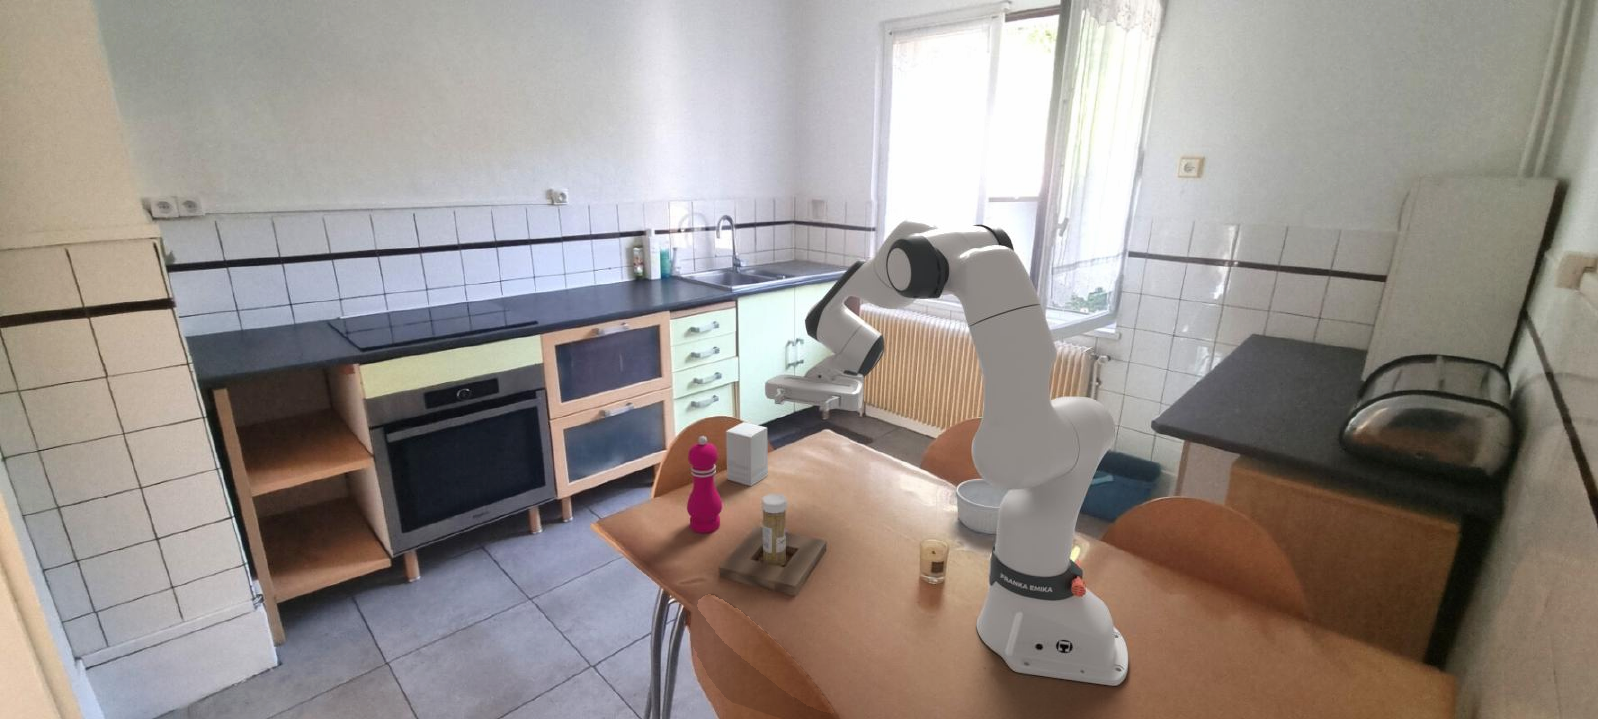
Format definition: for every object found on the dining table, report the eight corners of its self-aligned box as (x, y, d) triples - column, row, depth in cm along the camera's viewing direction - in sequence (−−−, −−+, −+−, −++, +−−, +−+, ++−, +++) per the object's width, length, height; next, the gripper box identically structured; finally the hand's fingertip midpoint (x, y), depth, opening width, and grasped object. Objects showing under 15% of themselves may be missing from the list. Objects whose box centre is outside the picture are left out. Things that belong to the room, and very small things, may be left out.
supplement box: (768, 475, 163) (768, 427, 159) (750, 487, 157) (750, 437, 153) (744, 468, 166) (743, 421, 163) (725, 479, 160) (724, 430, 157)
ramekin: (955, 534, 137) (958, 504, 135) (952, 504, 150) (954, 476, 148) (1022, 540, 135) (1025, 509, 133) (1013, 509, 148) (1016, 481, 146)
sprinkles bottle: (788, 567, 125) (788, 502, 121) (764, 570, 124) (764, 505, 120) (783, 554, 129) (784, 491, 125) (760, 557, 128) (760, 493, 125)
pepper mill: (716, 536, 135) (713, 445, 130) (682, 532, 137) (678, 441, 131) (727, 519, 142) (725, 431, 137) (694, 515, 143) (691, 428, 138)
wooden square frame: (826, 550, 131) (826, 541, 130) (795, 596, 116) (795, 586, 116) (757, 534, 136) (757, 525, 136) (719, 576, 122) (719, 567, 121)
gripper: (779, 364, 145) (751, 381, 132) (870, 375, 137) (850, 395, 125) (779, 391, 146) (752, 411, 134) (869, 404, 139) (849, 426, 127)
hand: (800, 403), depth 130 cm, fingers open, 8 cm apart
